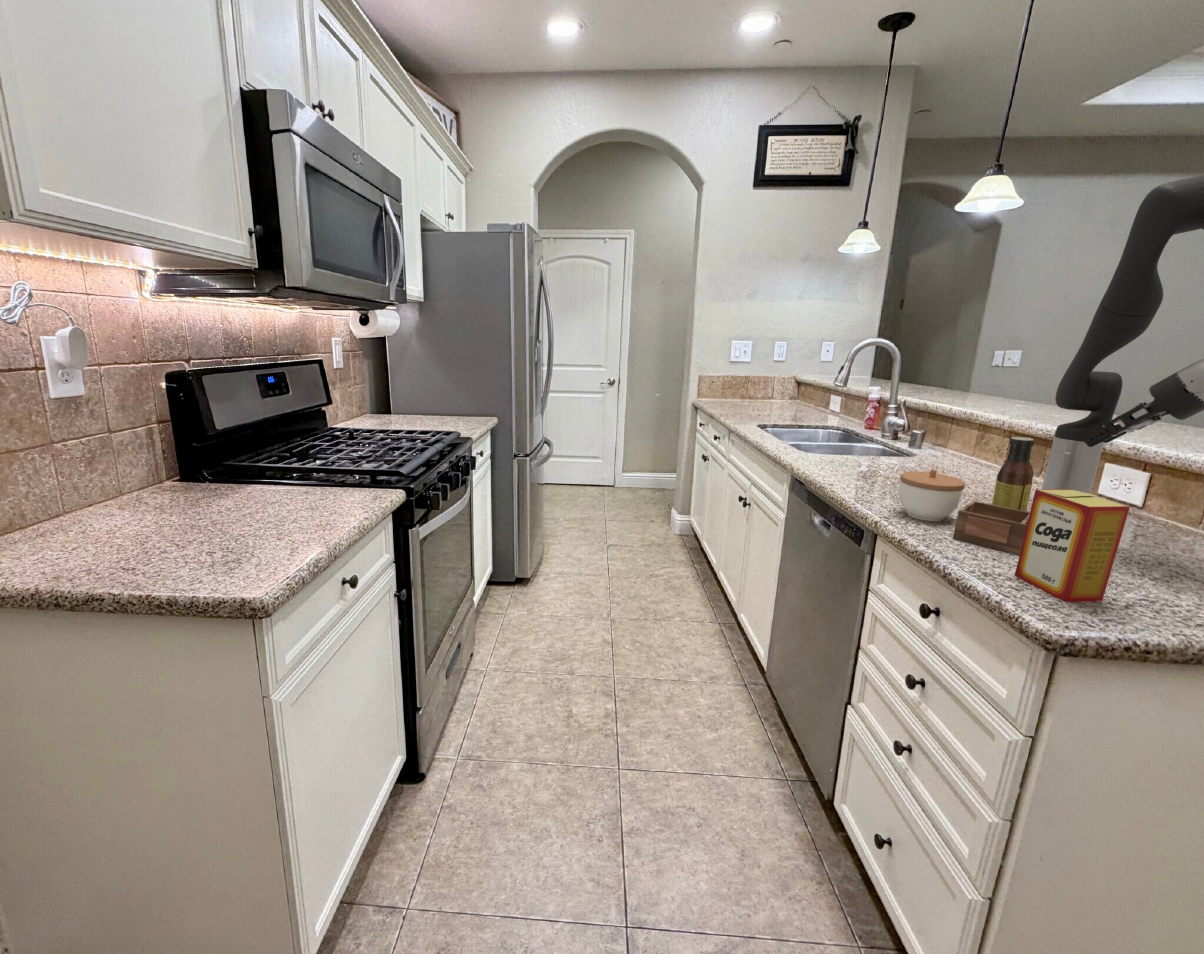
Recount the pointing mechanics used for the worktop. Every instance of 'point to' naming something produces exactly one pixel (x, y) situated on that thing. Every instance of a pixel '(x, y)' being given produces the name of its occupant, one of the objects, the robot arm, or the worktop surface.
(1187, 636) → the worktop surface
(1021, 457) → the sauce bottle
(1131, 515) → the worktop surface
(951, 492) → the white lidded bowl
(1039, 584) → the baking soda box
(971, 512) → the wooden compartment tray
